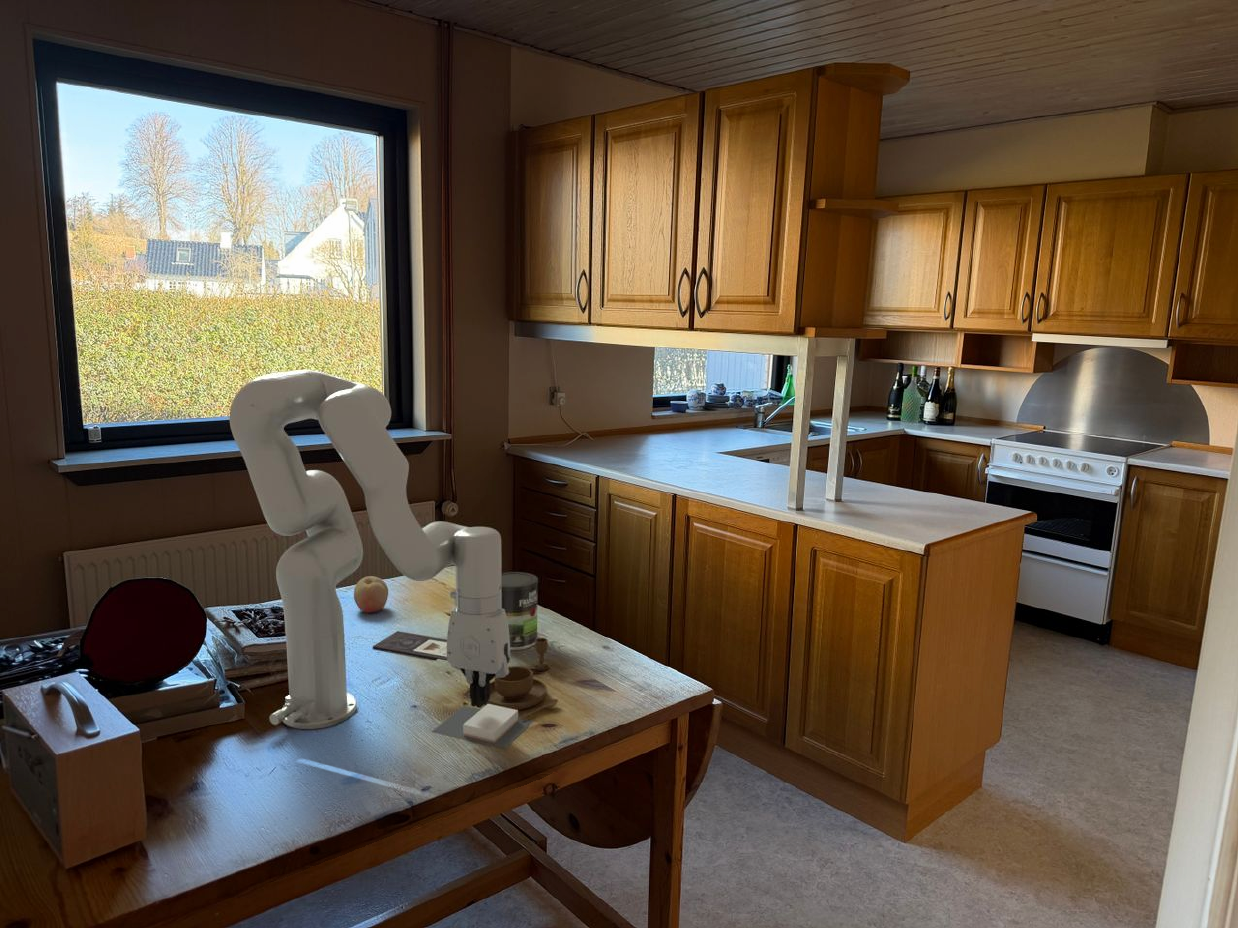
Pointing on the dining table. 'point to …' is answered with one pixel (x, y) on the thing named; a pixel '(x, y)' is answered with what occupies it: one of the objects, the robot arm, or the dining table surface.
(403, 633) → the chocolate bar
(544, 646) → the place setting
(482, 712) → the tile
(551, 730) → the dining table surface
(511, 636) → the coffee can
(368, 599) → the fruit
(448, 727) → the mat
